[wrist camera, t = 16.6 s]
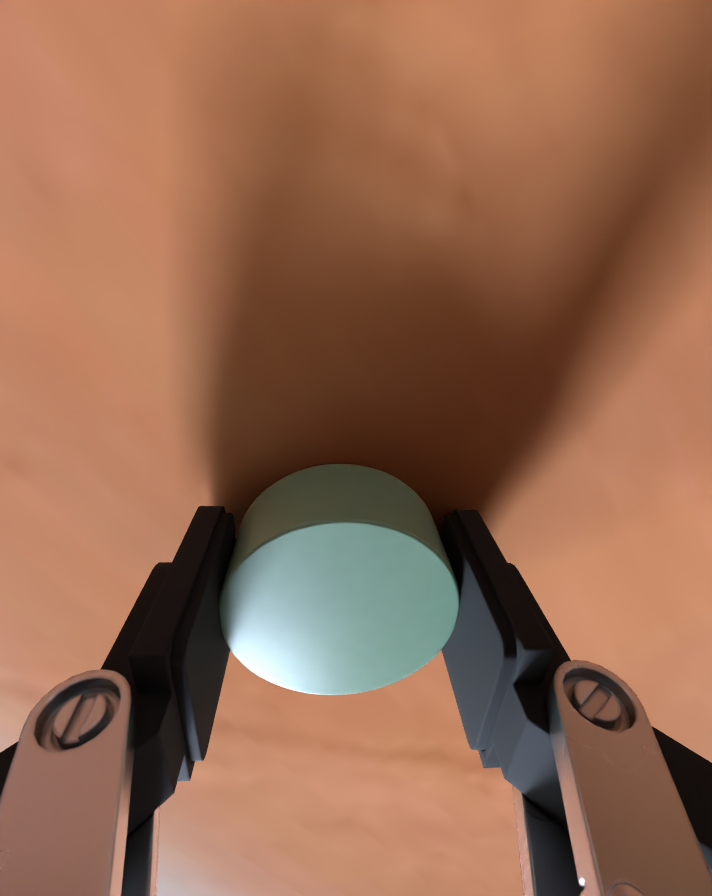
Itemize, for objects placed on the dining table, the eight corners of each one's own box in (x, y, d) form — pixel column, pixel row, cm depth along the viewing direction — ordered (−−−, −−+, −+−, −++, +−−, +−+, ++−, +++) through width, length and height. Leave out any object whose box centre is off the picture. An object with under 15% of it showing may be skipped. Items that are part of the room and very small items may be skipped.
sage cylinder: (475, 521, 11) (510, 585, 9) (364, 642, 12) (372, 719, 10) (303, 423, 9) (296, 475, 7) (203, 576, 11) (176, 652, 9)
